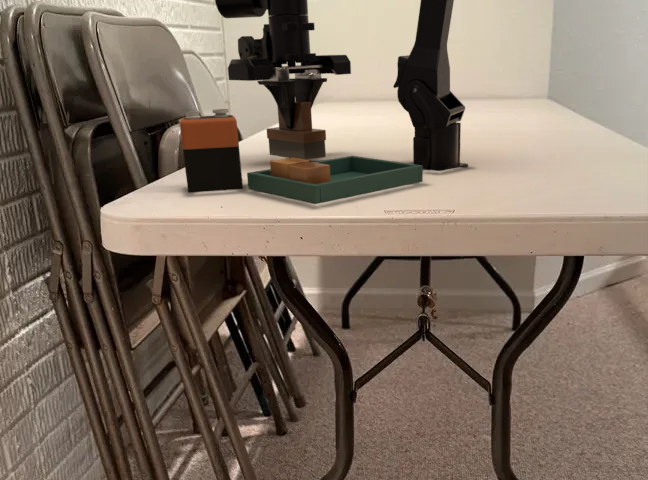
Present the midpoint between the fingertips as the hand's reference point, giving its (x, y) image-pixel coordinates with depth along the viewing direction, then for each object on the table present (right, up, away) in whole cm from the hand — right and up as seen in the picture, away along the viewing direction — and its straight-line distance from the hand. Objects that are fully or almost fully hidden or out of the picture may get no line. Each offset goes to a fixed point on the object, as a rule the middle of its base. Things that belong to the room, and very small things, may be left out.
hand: (295, 128), depth 109 cm
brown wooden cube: (0, -12, -21) cm, 24 cm away
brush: (0, -4, +2) cm, 4 cm away
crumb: (+4, -14, -23) cm, 27 cm away
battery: (-8, -13, -17) cm, 23 cm away
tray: (+7, -13, -17) cm, 22 cm away
